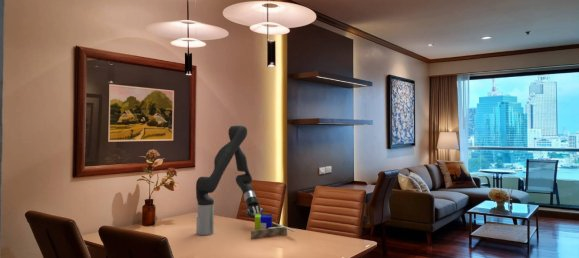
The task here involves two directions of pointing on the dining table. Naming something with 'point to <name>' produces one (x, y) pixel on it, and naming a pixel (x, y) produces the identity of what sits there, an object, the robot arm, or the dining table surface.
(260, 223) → the puzzle toy
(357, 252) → the dining table surface
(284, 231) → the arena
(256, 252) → the dining table surface
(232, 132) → the robot arm
